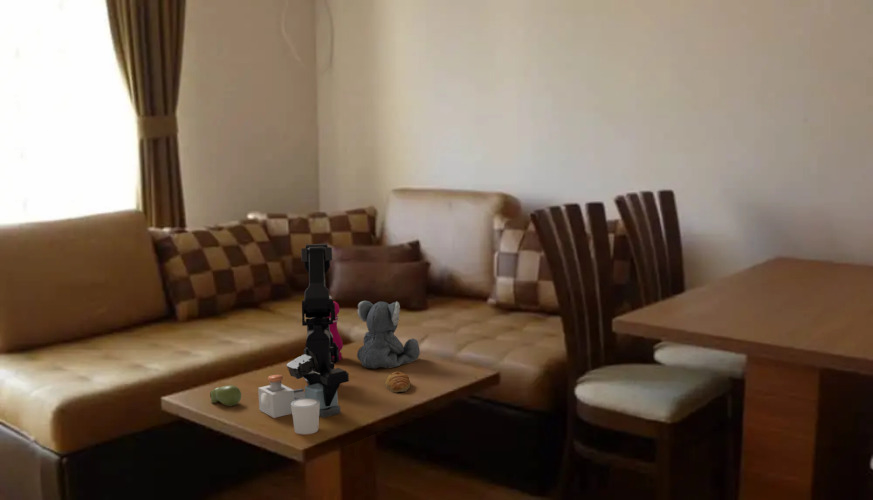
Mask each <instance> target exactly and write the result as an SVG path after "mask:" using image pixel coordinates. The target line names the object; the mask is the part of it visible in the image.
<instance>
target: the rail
mask: <svg viewBox="0 0 873 500" xmlns="http://www.w3.org/2000/svg"><path fill="white" fill-rule="evenodd" d="M293 390H294V400H298V399H304V398H305V391H304V388H296V389H293ZM339 414H341V406H340V405H338V406H332V407H328V408H324V409H320V415H319V416H320V418H322V419H323V418H327V417H331V416H332V417H333V416H335V415H339Z"/></svg>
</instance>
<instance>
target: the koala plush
mask: <svg viewBox="0 0 873 500" xmlns="http://www.w3.org/2000/svg"><path fill="white" fill-rule="evenodd" d="M357 308H358V309H357V311H356V312H357V316H358V318H359V319H360V320H361V321H362V322H364V323H366V327H367V332H365V333H364V337H363V345H362V346H361V347H359V348H358V350H357V354H356V357H357V359H358V360H359V362H360V363H361V365H362V367H363V368H367V369H374V370H375V369H379V368H385V369H390V368H391V369H392V368H397V367H400V366H401V365H405V364H409V363H412V362H415V361H416V360H418V358H419V356H420V346H419V340H418V339H416V338H414V337H413V338H409V339H407V341H406V342H405V343H404V345H403V343H402V342H401V341H400V339H399V338H398V337H397V336H396V335H395V332H396V330H397V328H398V324H399V321H400V312H401V306H400V302H398V301H395V302H392V303H389V302H386V301H378V302H376V303H374V304H373V303H372V302H371V301H368V300H362V301H360V302H358V304H357Z"/></svg>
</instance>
